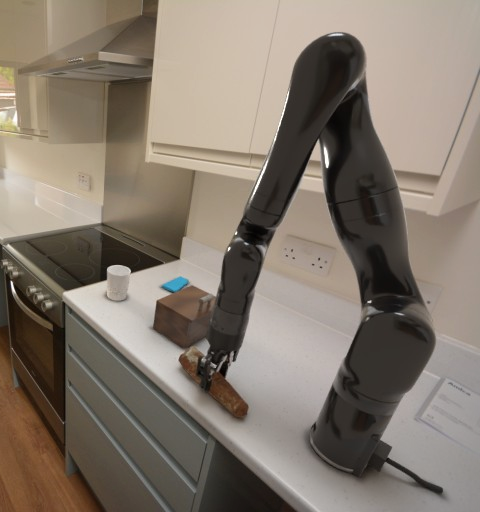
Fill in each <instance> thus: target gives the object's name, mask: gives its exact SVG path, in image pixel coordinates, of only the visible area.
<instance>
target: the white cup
mask: <svg viewBox="0 0 480 512" xmlns="http://www.w3.org/2000/svg"><path fill="white" fill-rule="evenodd" d="M131 272H132V271H131V268H129V267H127V266H125V265H120V264H115V265H110V266H108V267H107V269H106V296H107V298H108V299H110V300H112V301H115V302H120V301H124V300H126V299H127V296H128V295H127V294H128V291H129V285H130V281H131V280H130V279H131Z"/></svg>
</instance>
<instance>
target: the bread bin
mask: <svg viewBox="0 0 480 512" xmlns="http://www.w3.org/2000/svg"><path fill="white" fill-rule="evenodd" d="M210 315H211V313H210V314H208V315H206V316H204V317H202V318H201V319H199V320H197V321H195V322H193V323H190V322H189V321H187V320H185V319H184V318H182V317H180V316H178V315H177V314H175V313H173V312H172V311H170V310H168V309H166V308H165V307H163V306H161V305H159V304H158V303H156V302H155V309H154V317H153V322H152V323H153V324H152V329H153V330H155V331H156V332H158V333H159V334H161V335H162V336H163V337H165V338H167V339H168V340H170V341H171V342H173V343H174V344H176V345H177V346H179V347H180V348H182V349H183V350H184V349H188V348H189V347H191V345H192V346H193V344H195V343H197V342H198V341H201V339H204V338H206V333H207V328H208V324H209V320H210Z"/></svg>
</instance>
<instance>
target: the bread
mask: <svg viewBox="0 0 480 512" xmlns="http://www.w3.org/2000/svg"><path fill="white" fill-rule="evenodd" d="M200 355H202V356H203V357H205V356H206V355H205V354H203V352H202V351H200V350H199V349H198V347H197V346H195V345H192V346H188V347H187V348H186V350H184V352H183V353H181V354H179V357H178V362H179V364H180V366H181V367H182V369H184V371H185V372H186V373H187V374H189V376H190V377H191V378H192V379H193V380H194V381H195V382H197V383H198V384H199V385H200V382H201V379H200V378H199V377H197V376H196V372H197V364H198V358H199V356H200ZM211 364H212V365H213V366H214V364H213V363H212V362H211ZM210 373H211V370H210ZM208 393H209V394H210V395H211V396H212V397H213V398H214V399H215V400H216V401H217V402H218V403H220V404H221V405H222V406H223V407H224V408H225V409H226V410H227V411H228V412H230V413H231V414H232V415H233V416H235V417H236V418H244V417H246V416H247V415H248V412H249V408H250V406H249V404H248V403H247V402H246V401H245V400H244V399H243V397H242V396H241V395H240V394H239V393H238V392H237V390H236V389H235V388H234V387H233V386H232V384H231V383H230V382H229V381H228V380H227V378H226V379H225V378H224V377H223V376H222V375H221V373H220V372H216V373H215V375H214V377H213V379H212V383H211V387H210V391H209V392H208Z"/></svg>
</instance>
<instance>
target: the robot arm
mask: <svg viewBox="0 0 480 512" xmlns="http://www.w3.org/2000/svg"><path fill="white" fill-rule="evenodd" d="M367 58H368V57H367V52H366V49H365V47H364V44H363V43H362V42H361V40H360V39H358V37H356V36H355V35H353V34H351V33H349V32H345V31H333V32H329V33H326V34H324V35H320V36H319V37H317V38H316V39H314V40H312V41H311V42H310V43H309V44H307V45H306V46H305V47H304V49H303V50H301V52H300V53H299V55H298V56H297V58H296V60H295V62H294V65H293V67H292V70H291V76H290V80H289V85H288V89H287V93H286V96H285V100H284V105H283V109H282V112H281V115H280V119H279V122H278V124H277V128H276V131H275V134H274V136H273V139H272V141H271V144H270V147H269V149H268V152H267V153H266V156H265V158H264V161H263V163H262V165H261V168H260V170H259V172H258V174H257V176H256V179H255V181H254V183H253V186H252V188H251V191H250V193H249V195H248V197H247V200H246V202H245V205H244V207H243V211H242V217H241V219H240V220H239V222H238V225H237V227H236V230H235V231H234V234H233V236H232V238H231V240H230V241H229V243H228V245H227V246H226V248H225V251H224V254H223V258H222V263H221V271H220V280H219V284H218V287H217V291H216V295H215V296H216V299H215V303H214V305H213V308H212V311H211V315H210V320H209V324H208V328H207V333H206V336H205V338H206V340H207V342H208V344H209V346H208V349H207V350H206V355H204V356H205V357H203V356H202V355H200V356H199V358H198V364H197V372H196V376H197V377H199V378H200V379H201V382H200V384H199V388H200V390H201V391H203V392H205V393H209V391H210V387H211V383H212V379H213V377H214V375H215V373H216V372H220V373H221V375H222V376H223V377H224V378H225V379H226V380H227V374H228V371H229V368H231V366H232V363H236V361H237V357H238V355H239V352H240V349H241V348H242V346H243V343H244V339H245V336H246V333H247V329H248V325H249V321H250V314H251V310H252V307H253V302H254V299H255V293H256V287H257V284H258V282H259V279H260V277H261V276H260V275H261V273H262V270H263V266H264V264H265V260H266V256H267V253H268V250H269V248H270V245H271V243H272V241H273V239H274V237H275V234H276V232H277V229H278V228H279V227H281V225H282V223H283V222H284V220H285V218H286V216H287V214H288V212H289V210H290V209H291V206H292V205H293V202H294V200H295V198H296V196H297V194H298V191H299V189H300V186H301V184H302V181H303V179H304V176H305V173H306V171H307V168H308V166H309V162H310V160H311V157H312V155H313V153H314V149H315V148H316V145H317V143H318V145H319V154H320V170H321V172H320V173H321V181H322V187H323V188H322V189H323V195H324V199H325V203H326V207H327V211H328V214H329V219H330V221H331V225H332V228H333V230H334V233H335V236H336V238H337V240H338V242H339V243H340V246H341V247H342V249H343V251H344V253H345V254H346V257H347V258H348V260H349V261H350V263H351V266H352V268H353V270H354V272H355V277H356V281H357V286H358V293H359V300H360V315H359V316H360V317H359V323H358V326H357V329H356V331H355V334H354V335H353V339H352V341H351V342H350V346H349V348H348V350H347V353H346V354H345V356H344V357H343V358H342V360H341V362H340V364H339V367H338V370H337V372H336V375H335V376H334V379H333V381H332V383H331V385H330V388H329V391H328V393H327V395H326V397H325V400H324V402H323V405H322V407H321V409H320V411H319V414H318V416H317V419H316V421H314V423H313V424H312V426H311V427H310V434H309V442H310V445H311V447H312V449H313V450H314V452H315V453H316V454H317V455H318V456H319V457H320V458H321V459H322V460H323V461H325V462H326V463H327V464H329V465H330V466H332V467H334V468H335V469H338V470H340V471H342V472H345V473H351V474H352V475H355V476H356V477H358V478H360V477H361V476H362V474H363V472H364V470H366V468H367V466H369V467H371V468H373V469H374V470H376V471H377V472H379V473H380V472H381V470H382V468H383V467H384V465H385V464H388V465H389V466H392V467H394V468H395V469H397V470H398V471H400V472H402V473H403V474H405V475H407V476H408V477H410V478H411V479H413V480H414V481H415V482H416V483H417V484H419V485H421V486H423V487H425V488H427V489H430V490H432V491H435V492H438V493H440V494H443V492H444V488H443V487H442V486H439V485H436V484H435V483H431V482H429V481H427V480H425V479H423V478H421V477H420V476H419V475H418V474H416V473H415V472H413V471H412V470H410V469H409V468H407V467H405V466H404V465H402V464H400V463H398V462H396V461H395V460H393V459H392V458H390V457H389V455H390V453H391V451H392V449H393V446H391V445H390V444H388V443H387V442H385V441H383V440H381V439H382V437H383V435H384V434H385V431H386V429H387V428H388V426H389V424H390V422H391V420H392V418H393V416H394V414H395V413H396V411H397V408H398V406H399V405H400V403H401V402H402V400H403V398H404V397H405V395H406V394H407V393H409V392H410V391H411V390H412V389H413V388H414V387H415V385H416V384H417V382H418V380H419V379H420V377H421V376H422V373H423V372H424V371H425V368H426V367H427V365H428V364H429V362H430V360H431V358H432V356H433V354H434V352H435V350H436V346H437V335H436V334H437V333H436V330H435V329H436V328H435V325H434V319H433V317H432V315H431V313H430V310H429V309H428V306H427V304H426V302H425V299H424V297H423V295H422V293H421V291H420V287H419V285H418V282H417V279H416V277H415V275H414V272H413V268H412V265H411V260H410V246H409V231H408V224H407V217H406V212H405V211H406V210H405V206H404V202H403V198H402V195H401V194H402V193H401V190H400V185H399V182H398V179H397V176H396V173H395V170H394V167H393V165H392V163H391V160H390V157H389V155H388V152H387V151H386V149H385V147H384V144H383V142H382V140H381V138H380V136H379V134H378V132H377V129H376V127H375V125H374V121H373V120H374V119H373V116H372V113H371V105H370V99H369V91H368V84H367V83H368V82H367V61H368V59H367ZM211 363H212V364H213V365H212V364H211ZM214 365H215V366H214ZM210 370H211V373H210Z"/></svg>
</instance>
